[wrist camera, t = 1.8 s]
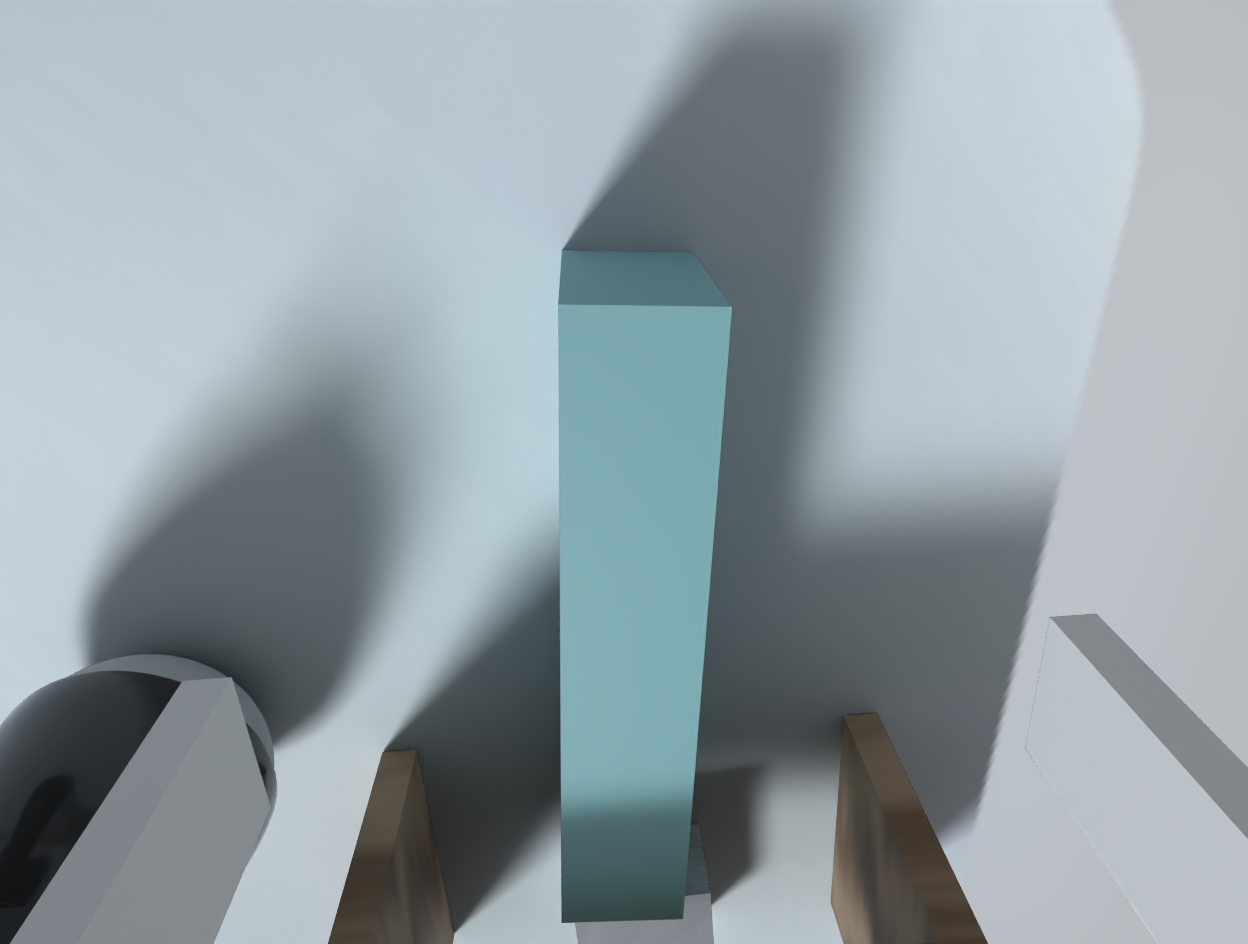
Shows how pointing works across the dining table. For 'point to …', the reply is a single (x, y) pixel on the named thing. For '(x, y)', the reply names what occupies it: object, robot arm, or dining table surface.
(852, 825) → the walnut shelf
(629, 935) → the low grey plinth
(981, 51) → the dining table surface
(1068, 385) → the dining table surface
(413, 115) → the dining table surface
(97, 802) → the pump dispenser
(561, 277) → the teal batten
